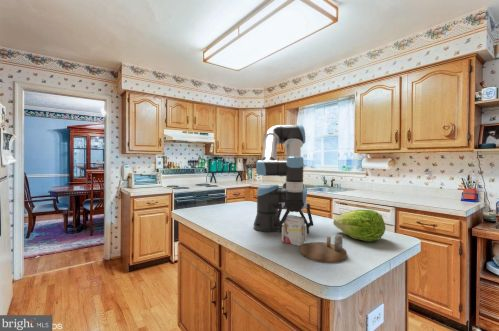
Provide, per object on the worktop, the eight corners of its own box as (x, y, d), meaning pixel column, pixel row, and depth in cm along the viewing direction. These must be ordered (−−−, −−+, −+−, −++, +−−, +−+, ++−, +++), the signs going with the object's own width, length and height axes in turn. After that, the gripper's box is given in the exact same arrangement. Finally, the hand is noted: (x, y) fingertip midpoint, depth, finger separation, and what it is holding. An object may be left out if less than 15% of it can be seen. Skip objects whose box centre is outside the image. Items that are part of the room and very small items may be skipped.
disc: (302, 261, 94) (302, 241, 94) (298, 244, 112) (298, 227, 112) (352, 264, 92) (352, 243, 92) (340, 246, 110) (341, 229, 110)
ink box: (282, 242, 115) (282, 216, 115) (288, 239, 119) (288, 214, 118) (299, 246, 110) (300, 219, 109) (304, 243, 114) (305, 217, 113)
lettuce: (346, 229, 138) (341, 204, 138) (393, 236, 118) (387, 206, 118) (327, 240, 128) (322, 213, 128) (375, 249, 108) (369, 216, 108)
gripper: (269, 191, 111) (268, 242, 112) (321, 192, 108) (320, 244, 109) (270, 189, 119) (269, 236, 119) (318, 190, 116) (317, 238, 117)
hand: (293, 240), depth 114 cm, fingers closed on ink box, 9 cm apart
